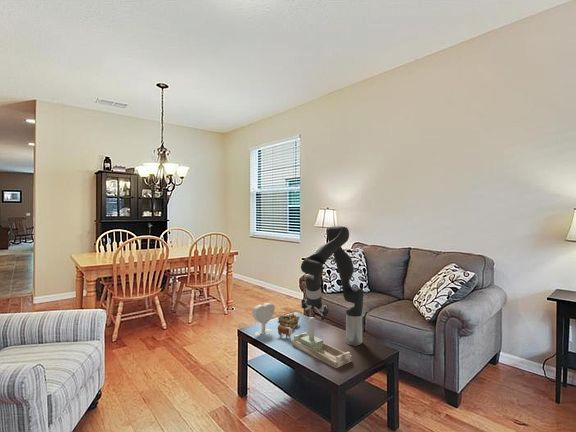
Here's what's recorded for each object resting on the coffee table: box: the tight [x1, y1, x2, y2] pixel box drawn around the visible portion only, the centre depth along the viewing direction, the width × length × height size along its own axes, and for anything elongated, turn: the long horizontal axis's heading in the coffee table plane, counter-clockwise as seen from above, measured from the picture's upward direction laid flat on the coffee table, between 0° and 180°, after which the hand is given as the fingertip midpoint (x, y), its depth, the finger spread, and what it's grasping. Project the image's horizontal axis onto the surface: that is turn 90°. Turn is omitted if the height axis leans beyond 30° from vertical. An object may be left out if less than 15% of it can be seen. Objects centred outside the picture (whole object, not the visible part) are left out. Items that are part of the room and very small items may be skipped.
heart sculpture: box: [251, 302, 275, 336], centre depth 206 cm, size 16×5×18 cm, turn 132°
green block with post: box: [300, 316, 324, 351], centre depth 180 cm, size 8×10×17 cm
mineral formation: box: [277, 312, 300, 329], centre depth 217 cm, size 8×13×15 cm
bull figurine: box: [277, 324, 295, 339], centre depth 196 cm, size 4×13×8 cm, turn 41°
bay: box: [291, 331, 353, 369], centre depth 175 cm, size 12×34×6 cm, turn 39°
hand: (315, 316), depth 168 cm, fingers open, 8 cm apart
